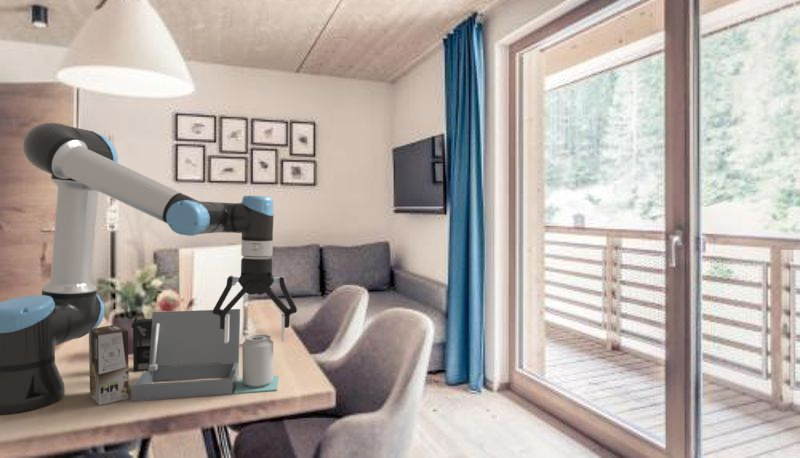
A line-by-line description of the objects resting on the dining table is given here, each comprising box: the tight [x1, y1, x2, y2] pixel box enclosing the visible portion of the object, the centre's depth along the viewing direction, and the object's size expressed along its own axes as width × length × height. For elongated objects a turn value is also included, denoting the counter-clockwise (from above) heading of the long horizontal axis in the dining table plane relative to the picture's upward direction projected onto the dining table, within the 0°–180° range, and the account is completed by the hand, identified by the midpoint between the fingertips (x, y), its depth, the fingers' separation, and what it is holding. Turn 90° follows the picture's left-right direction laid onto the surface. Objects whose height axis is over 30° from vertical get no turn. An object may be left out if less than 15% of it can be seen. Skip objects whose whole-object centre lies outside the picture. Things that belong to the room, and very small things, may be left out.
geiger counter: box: [131, 314, 159, 373], centre depth 133 cm, size 10×4×15 cm, turn 110°
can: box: [241, 333, 274, 388], centre depth 120 cm, size 8×8×12 cm
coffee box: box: [88, 324, 130, 406], centre depth 112 cm, size 9×6×16 cm
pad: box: [233, 375, 279, 395], centre depth 120 cm, size 10×10×1 cm
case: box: [131, 308, 241, 402], centre depth 120 cm, size 22×18×17 cm
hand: (255, 341), depth 120 cm, fingers open, 13 cm apart
